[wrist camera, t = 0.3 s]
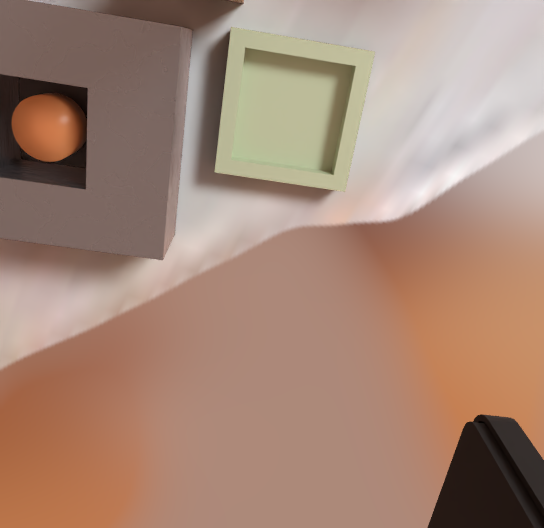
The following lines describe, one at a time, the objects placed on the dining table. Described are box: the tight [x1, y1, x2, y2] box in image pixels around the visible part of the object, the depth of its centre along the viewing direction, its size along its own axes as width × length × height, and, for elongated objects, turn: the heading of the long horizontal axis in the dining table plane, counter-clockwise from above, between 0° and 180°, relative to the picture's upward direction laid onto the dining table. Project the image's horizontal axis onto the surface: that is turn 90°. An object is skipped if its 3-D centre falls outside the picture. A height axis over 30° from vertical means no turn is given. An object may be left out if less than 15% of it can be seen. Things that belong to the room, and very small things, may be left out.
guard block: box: [0, 0, 193, 260], centre depth 32 cm, size 14×16×5 cm
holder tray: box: [215, 27, 375, 192], centre depth 34 cm, size 9×9×2 cm
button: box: [12, 93, 87, 162], centre depth 32 cm, size 4×4×2 cm
